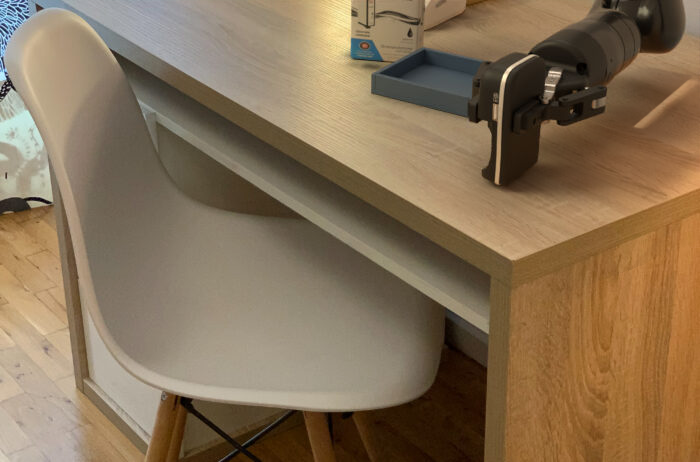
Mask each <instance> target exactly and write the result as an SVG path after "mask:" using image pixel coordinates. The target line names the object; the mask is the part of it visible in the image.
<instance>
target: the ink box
mask: <svg viewBox="0 0 700 462" xmlns="http://www.w3.org/2000/svg"><path fill="white" fill-rule="evenodd" d="M350 8H351V9H350V58H351V59H355V60H366V61H379V62H390V63H393V62H395V61H397V60H399V59H401V58H403V57H405V56H407V55H409V54H410V53H412V52H414V51H416V50H418V49H420V48H422V47H424V39H425V38H424V37H425V30H424V19H425V0H351V1H350Z"/></svg>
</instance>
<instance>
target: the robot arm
mask: <svg viewBox="0 0 700 462" xmlns="http://www.w3.org/2000/svg"><path fill="white" fill-rule="evenodd" d="M686 26H687V16H686V9H685V3H684V0H593V2H592V5H591V7H590V9H589V11H588V12H587V14H586V15H585V17H584V18H582V19H580V20H579V21H577V22H573V23H570V24H568V25H566V26H564V27H563V28H561V29H560V30H558V31H556V32H554V33H553V34H552V35H549V36H548V37H547V38H545V39H543V40H541V41H540V42H539V43H536V45H534V46H533V47H532V48H531V49H530V50H529V51H528V53H527V54H528V55H537V56H539V57H540V58H543V59H544V61H545V65H546V76H545V90H544V92H542V93H540V95H539V96H538V100H535V99H532V100H531V101H529V102H528V103H527V104H525V105H524V106H522V107H521V108H519V109H518V110H517V111H516V112H515V114H514V123H513V132H514V133H516V134H520V135H522V134H523V133H524V132H526V131H530V130H533V129H534V128H535V127H537V126H538V125H539V124H541V125H547V124H549V123H550V122H551V121H556V125H557V126H560V127H567V126H571V125H574V124H576V123H580V122H582V121H585V120H588V119H591V118H594V117H597V116H599V115H602V114H605V112H606V105H607V98H608V97H607V96H608V85H609V84H610V83H612V81H613V80H614V78H615V77H617V76H618V75H619V74H620V73H621V72H623V71H624V70H625V69H627V68H628V67H630V66H631V64H632V63H633V62H634V61H635V60H636V59H637V57H638V56H639V54H648V55H650V54H651V55H663V54H668V53H671V52H672V51H674V50H675V49H677V47H678V45H679V44H680V43H681V41H682V39H683V37H684V34H685V31H686ZM493 62H494V61H490V60H485V61H483V62H482V63H481V65H480V66H479V68H478V70H477V72H476V74H475V76H474V78H473V80H472V98H471V99H470V100H469V101H468V116H469V118H468V121H469V122H470V123H474V124H479V123H480V122H482V121H483V120H481V119H479V118H478V97H479V87H480V80H481V76H482V73H483V71H484V70H485V69H486V68H487V67H488V66H489V65H490V64H492V63H493Z"/></svg>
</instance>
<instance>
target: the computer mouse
mask: <svg viewBox="0 0 700 462" xmlns="http://www.w3.org/2000/svg"><path fill="white" fill-rule="evenodd" d="M466 7H467V0H425V19H424V31H427V30H429V29H431V28H433V27H436V26H438V25H440V24H442V23H444V22H446V21H448V20H450V19H452V18H454V17H456V16H459V15H460V14H462V13H464V11H465V10H466Z"/></svg>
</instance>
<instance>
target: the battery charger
mask: <svg viewBox="0 0 700 462" xmlns="http://www.w3.org/2000/svg"><path fill="white" fill-rule="evenodd" d="M493 62H494V63H492V64H490V65H489V66H488V67H487V68H486V69H485V70H484V71H483V73H482V76H481V80H480V87H479V97H478V118H479V119H481V120H482V121H483V122H484V121H485V122H487V128H488V129H489V132H490V134H491V144H490V145H491V146H490V147H491V148H490V158H489V161H488V163H487V165H486V166H484V167H483V168H482V169H481V177H482V178H483V179H484V180H486V181H488V182H492V183H494V184H495V185H497V186H506V185H508V184H510V183H512V182H513V181H514V180H516V179H517V178H519V177H521V176H522V175H523V174H525V173H526V172H527V171H528V170H530V169H531V168H533V167H534V166H535V165H536V164H538V162H539V155H540V141H541V131H542V124H539V125H538V126H537V127H535V128H534V129H533V130H530V131H526V132H524V133H523V134H522V135H520V134H516V133H514V132H513V123H514V114H515V112H516V111H517V110H518V109H519V108H521V107H522V106H524V105H525V104H527V103H528V102H529V101H531V100H532V99H535V100H538V96H539V95H540V93H542V92H544V90H545V76H546V65H545V61H544V59H543V58H540V57H539V56H537V55H528V53H523V52H517V51H513V52H511V53H509V54H507V55H504V56H502V57H500V58H498V59H497V60H496V61H493Z"/></svg>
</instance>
